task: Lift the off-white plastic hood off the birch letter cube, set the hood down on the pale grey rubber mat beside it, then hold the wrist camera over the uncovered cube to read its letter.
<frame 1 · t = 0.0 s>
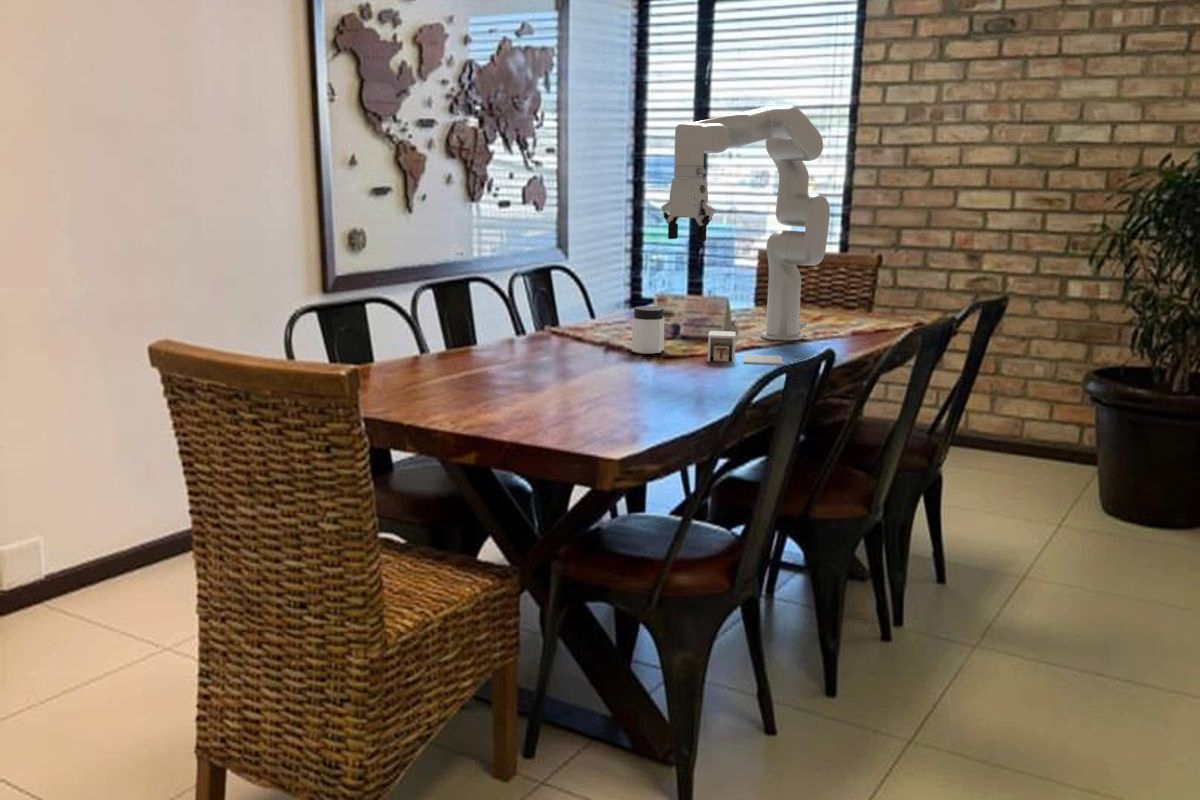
hand: (686, 239, 269), 31 cm above the table, tool pointing down, fingers open, 9 cm apart
letter cube: (721, 352, 273), in the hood
mat: (763, 360, 272), on the table
jar: (648, 351, 284), on the table
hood: (721, 359, 273), on the table
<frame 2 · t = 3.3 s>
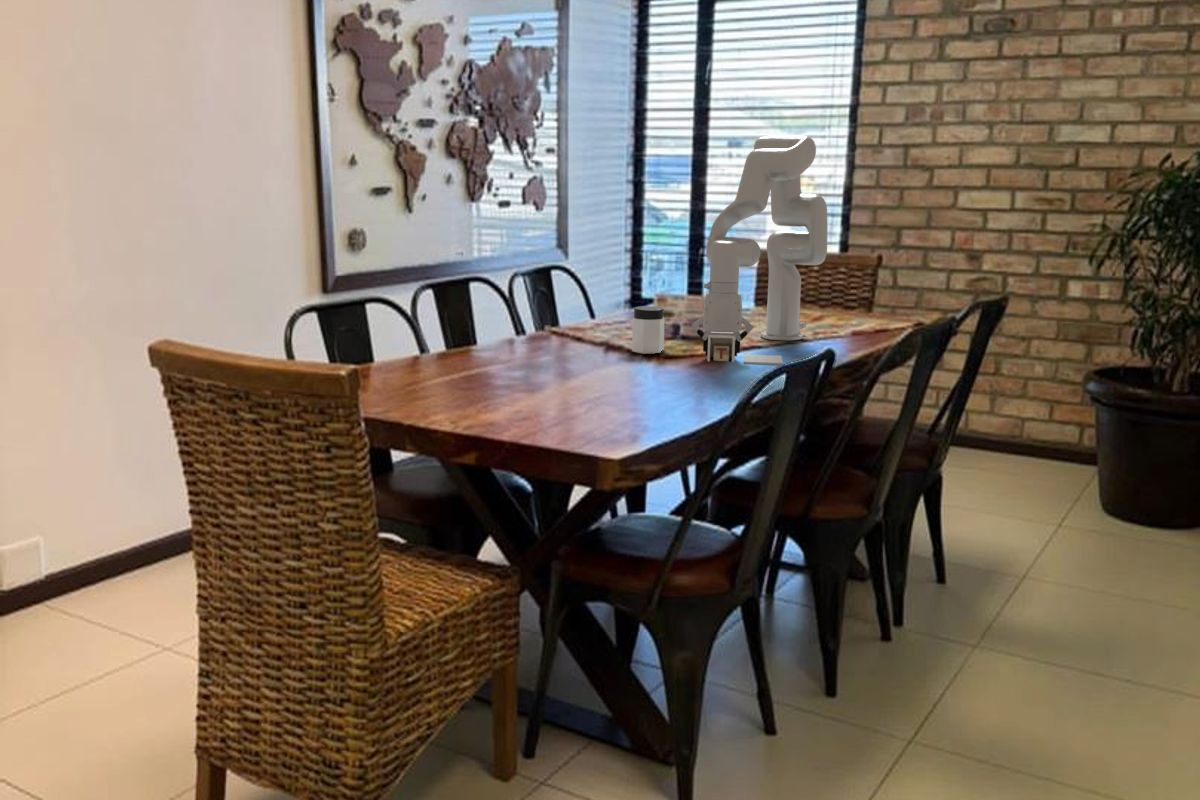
hand: (721, 354, 273), 1 cm above the table, tool pointing down, fingers closed on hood, 7 cm apart
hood: (721, 359, 273), on the table, touching gripper
everything else where it was.
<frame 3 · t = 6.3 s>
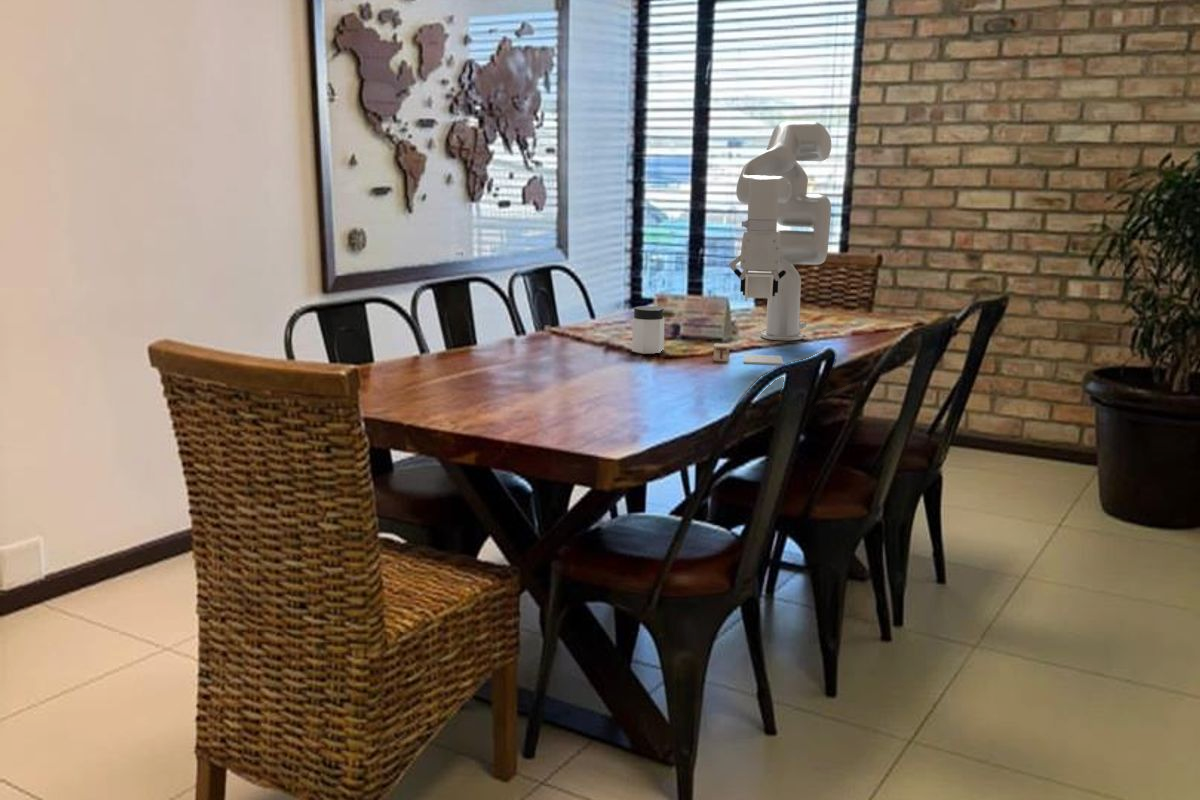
hand: (758, 294, 268), 17 cm above the table, tool pointing down, fingers closed on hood, 7 cm apart
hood: (758, 299, 269), point 16 cm above the table, touching gripper
everything else where it was.
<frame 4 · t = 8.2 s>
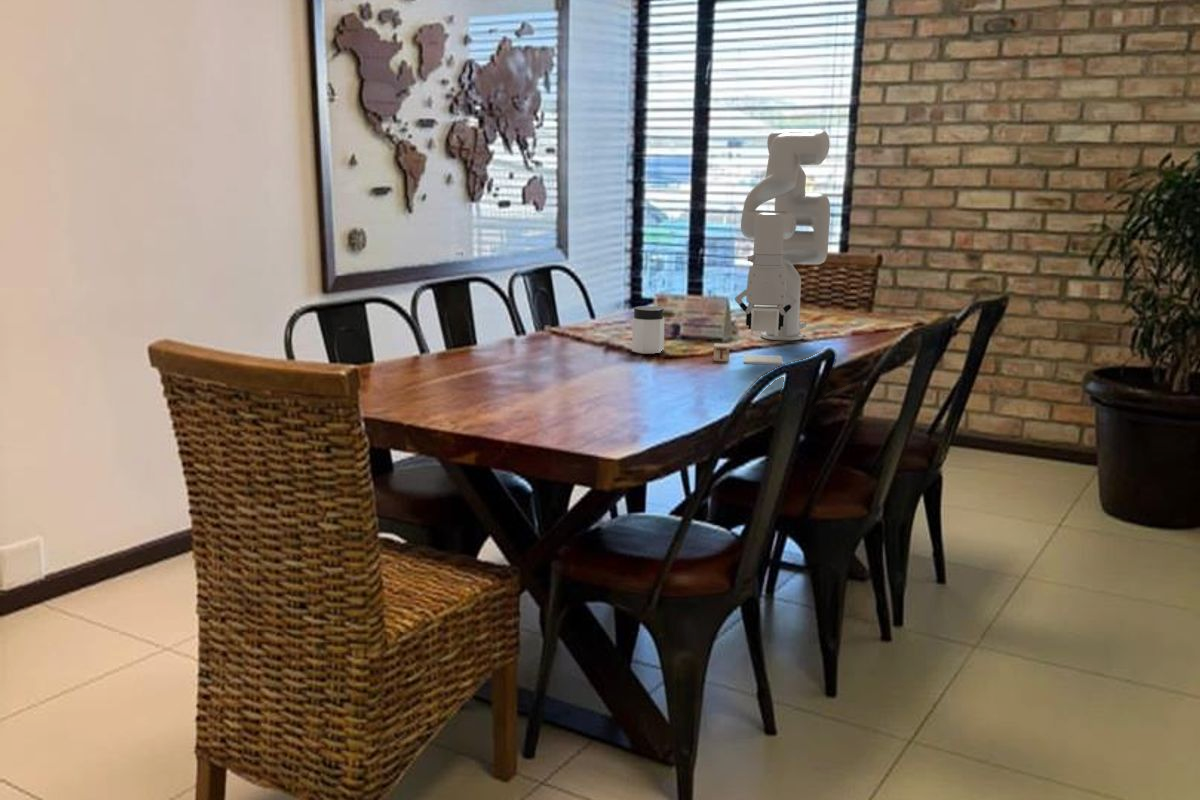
hand: (764, 328, 270), 9 cm above the table, tool pointing down, fingers closed on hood, 7 cm apart
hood: (764, 333, 270), point 7 cm above the table, touching gripper
everything else where it was.
when the fingers open (3 cm above the table, at t = 9.8 s): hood drops 1 cm, resting on mat.
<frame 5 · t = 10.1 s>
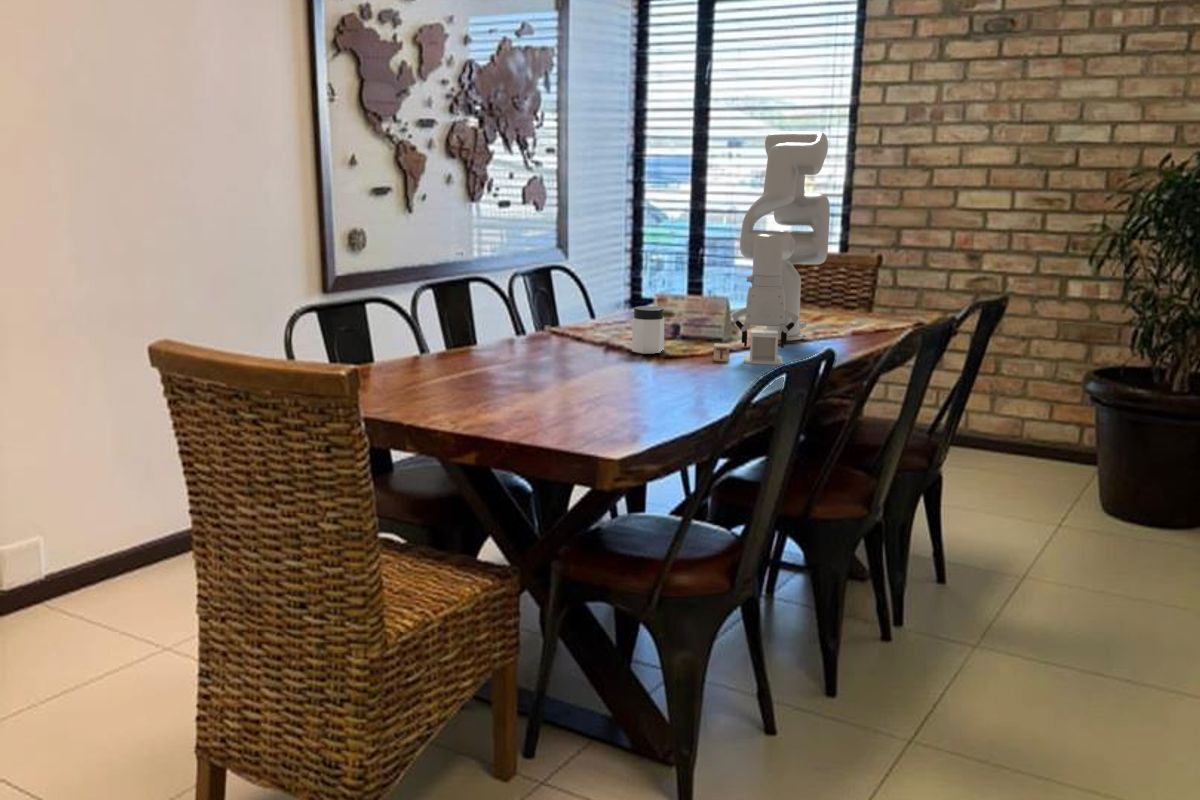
hand: (763, 346, 271), 4 cm above the table, tool pointing down, fingers open, 9 cm apart
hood: (763, 358, 272), resting on mat
everything else where it was.
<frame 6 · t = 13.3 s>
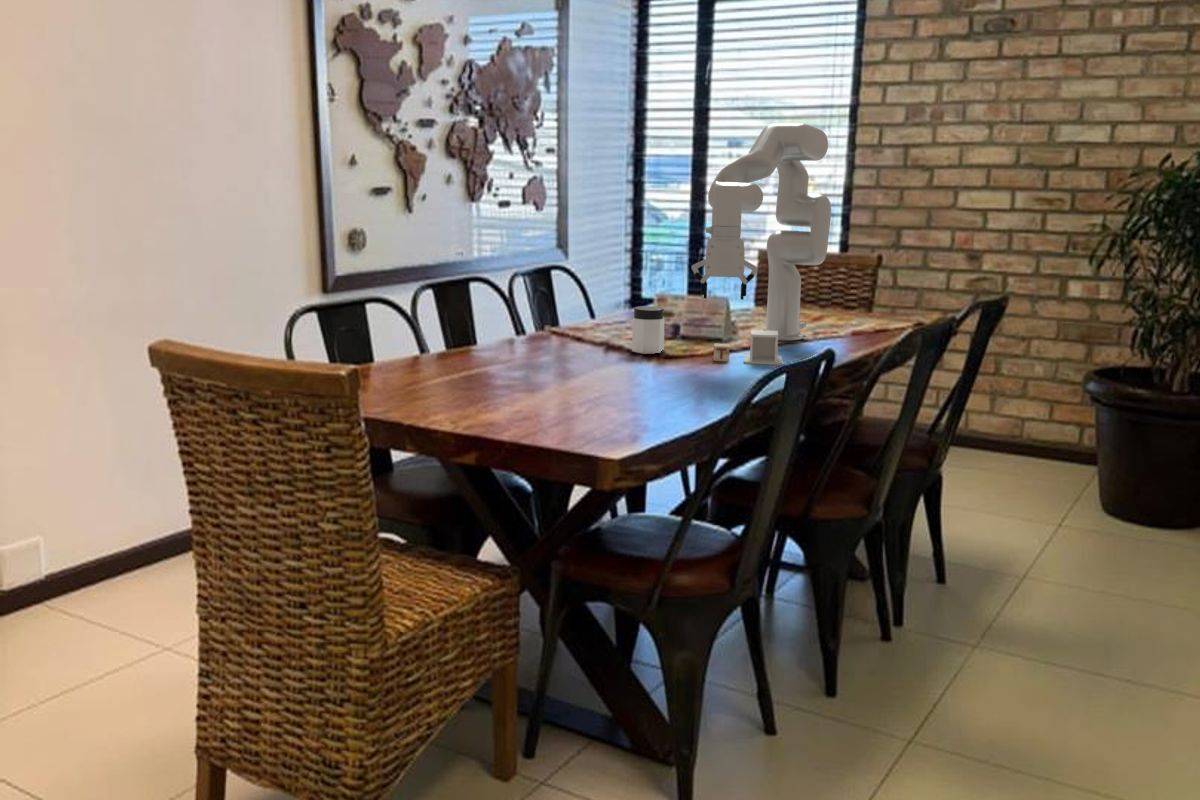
hand: (723, 298, 269), 16 cm above the table, tool pointing down, fingers open, 9 cm apart
nothing on the table moved.
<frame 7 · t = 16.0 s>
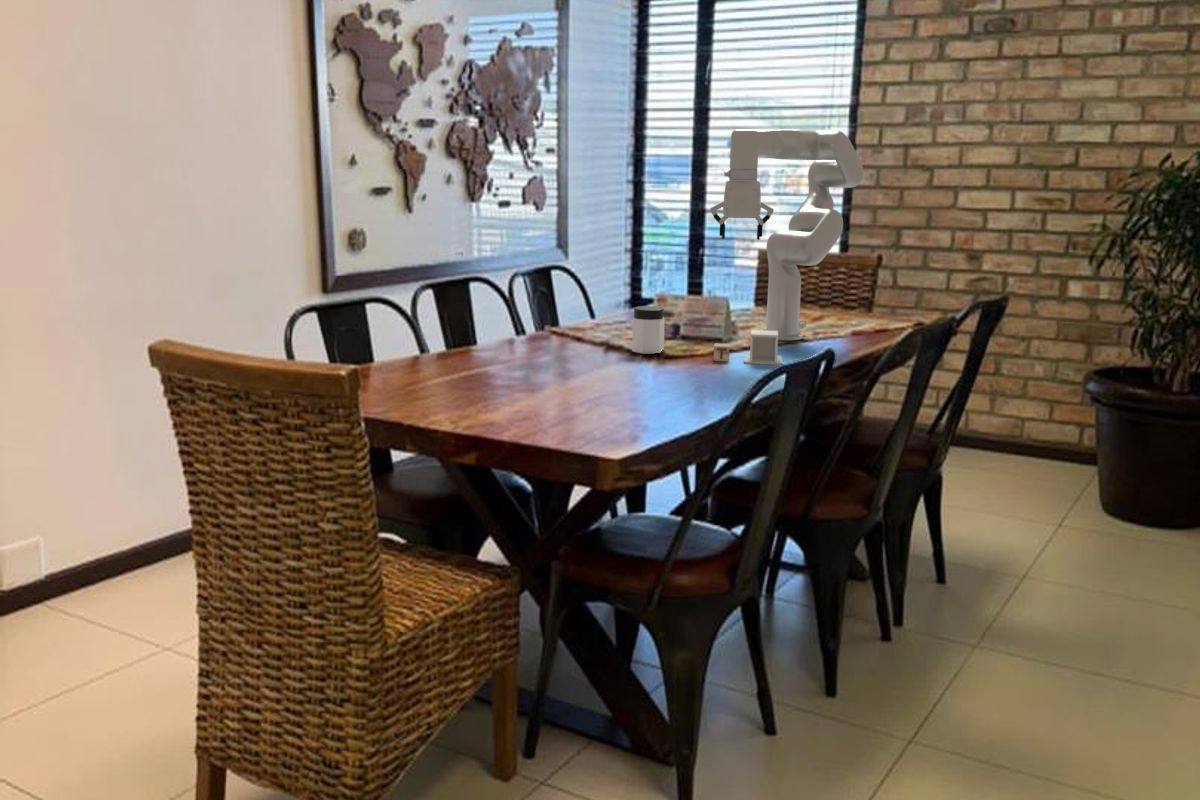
hand: (740, 239, 285), 30 cm above the table, tool pointing down, fingers open, 9 cm apart
nothing on the table moved.
at the end: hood 0.0 cm off-centre on the mat, point 0.5 cm above the mat's base; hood tilted 0°; letter cube moved 0.1 cm from its start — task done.
